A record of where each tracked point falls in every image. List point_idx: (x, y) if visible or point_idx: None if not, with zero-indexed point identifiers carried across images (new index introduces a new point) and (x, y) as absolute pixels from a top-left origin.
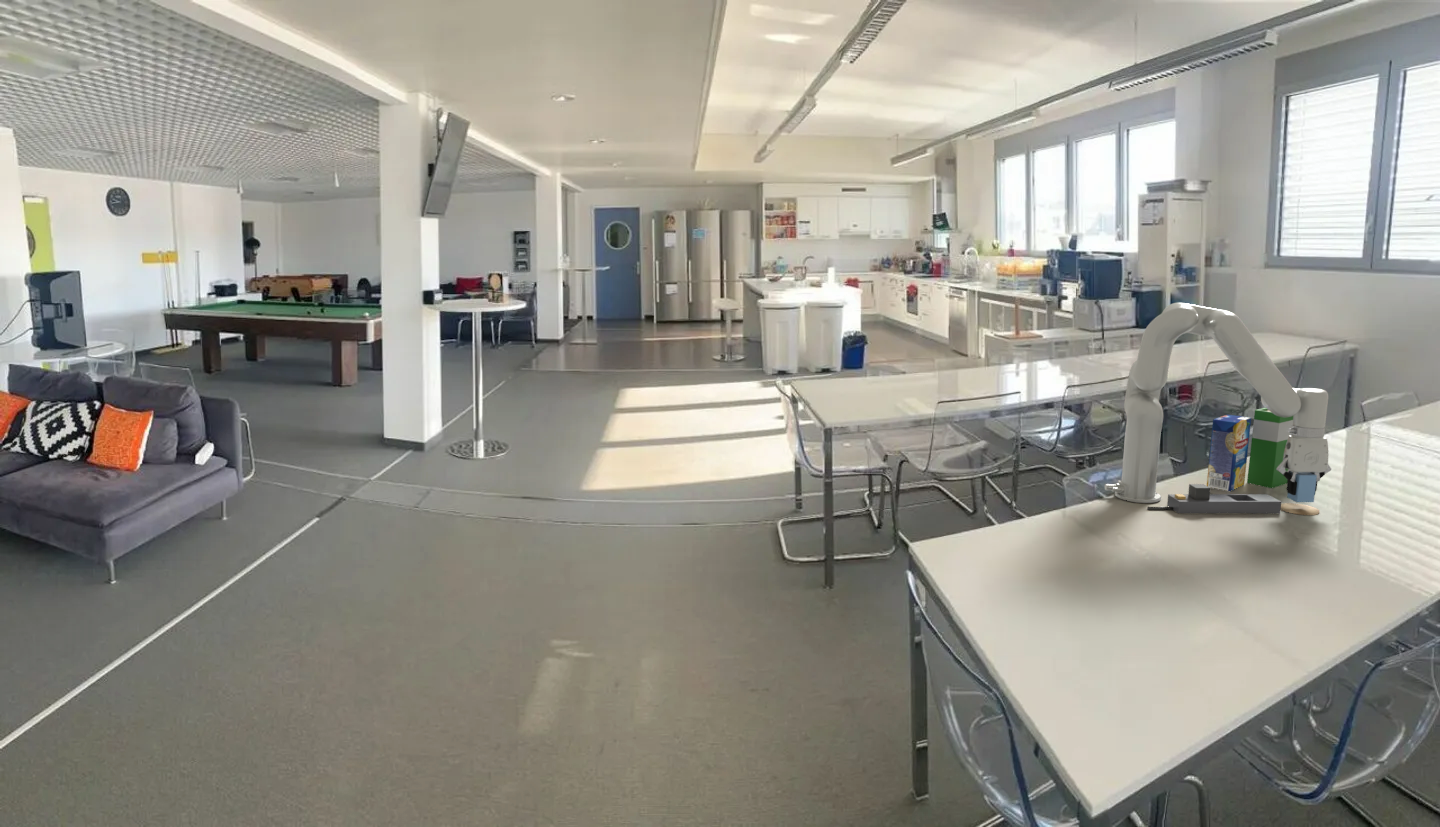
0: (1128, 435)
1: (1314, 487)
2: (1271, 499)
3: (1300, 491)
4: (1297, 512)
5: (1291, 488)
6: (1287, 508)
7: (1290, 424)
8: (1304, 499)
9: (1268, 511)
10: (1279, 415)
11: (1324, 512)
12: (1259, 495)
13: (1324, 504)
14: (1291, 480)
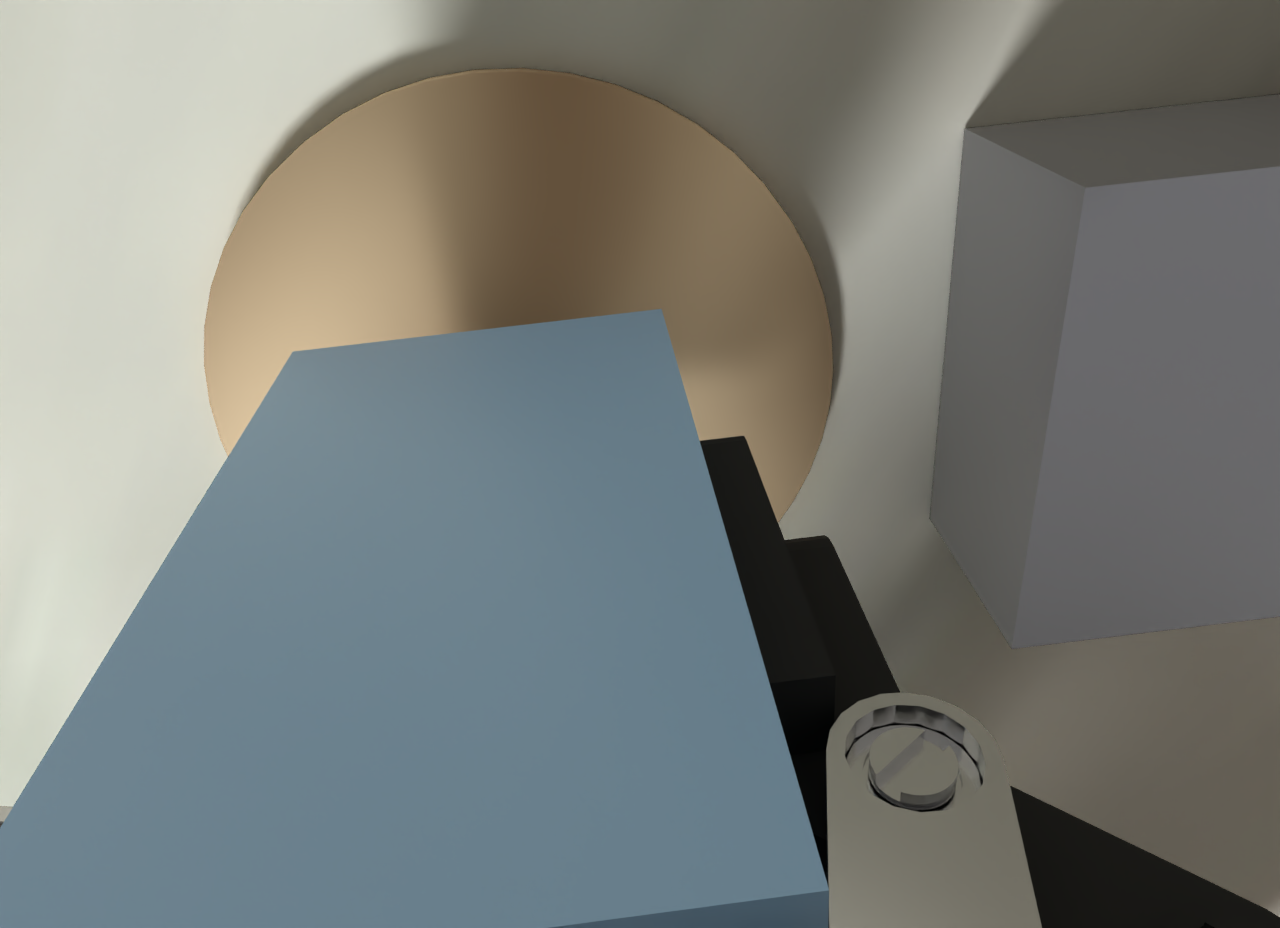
0: None
1: (192, 562)
2: (1184, 333)
3: (626, 441)
4: (659, 151)
5: (806, 575)
6: (714, 377)
7: None
8: (496, 357)
9: (1201, 114)
10: None
11: (126, 296)
12: (1210, 564)
13: (33, 687)
14: (972, 721)
